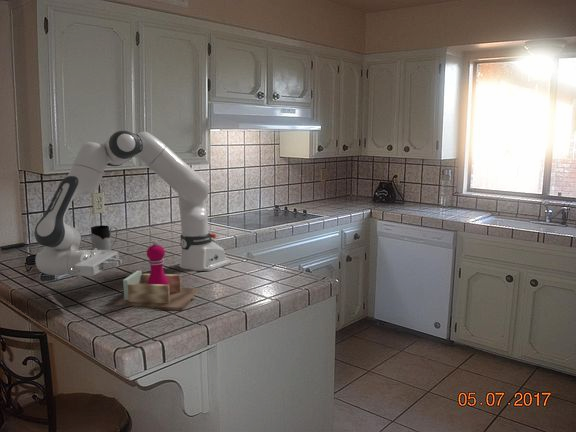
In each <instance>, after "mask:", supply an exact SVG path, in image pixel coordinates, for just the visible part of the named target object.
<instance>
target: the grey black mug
mask: <svg viewBox="0 0 576 432" xmlns="http://www.w3.org/2000/svg"><path fill="white" fill-rule="evenodd" d="M113 228H114V229H115V240H114V242H113V244H112V245H111V236H112V232H111V231H112V229H113ZM118 235H119V233H118V229H117V227H116V226H111V227H110V226H109V225H105V224H104V225H94V226H92V227H90V238H91V249H92V248H97V250H112V249H113V247H115V245H116V244H117V243H116V242H117V239H118Z"/></svg>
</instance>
